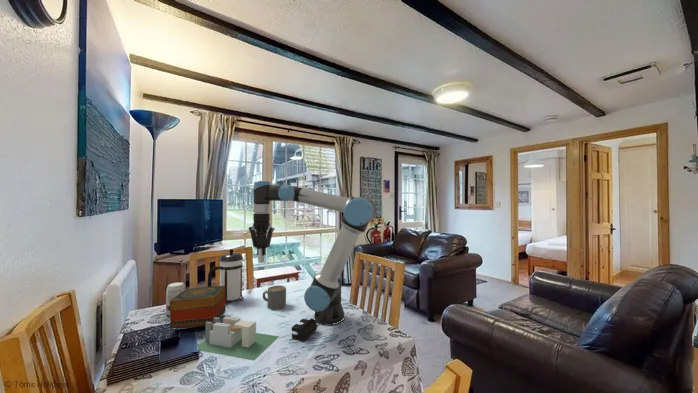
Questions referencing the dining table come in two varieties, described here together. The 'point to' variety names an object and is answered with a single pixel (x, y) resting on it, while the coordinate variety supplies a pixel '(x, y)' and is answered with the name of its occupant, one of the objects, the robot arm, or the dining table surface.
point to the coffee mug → (275, 297)
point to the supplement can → (173, 293)
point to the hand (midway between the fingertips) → (261, 261)
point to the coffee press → (230, 275)
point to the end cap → (304, 329)
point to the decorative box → (197, 307)
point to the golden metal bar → (231, 327)
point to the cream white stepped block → (247, 332)
